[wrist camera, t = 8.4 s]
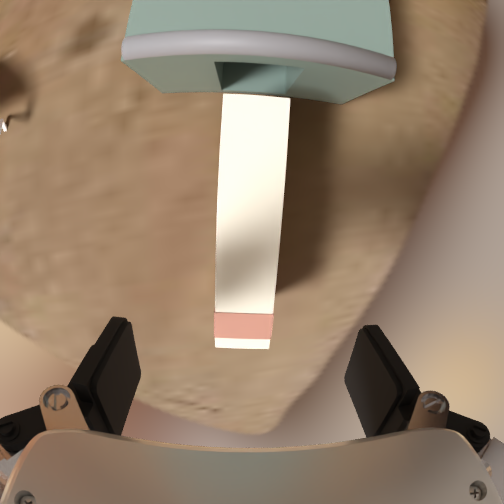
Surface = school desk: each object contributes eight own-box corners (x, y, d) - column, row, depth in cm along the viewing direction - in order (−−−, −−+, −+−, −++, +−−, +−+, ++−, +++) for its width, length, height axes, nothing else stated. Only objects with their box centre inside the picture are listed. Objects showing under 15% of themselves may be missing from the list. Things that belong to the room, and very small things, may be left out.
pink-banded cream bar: (226, 111, 16) (222, 93, 12) (277, 114, 17) (291, 98, 12) (219, 304, 20) (214, 347, 16) (263, 306, 21) (269, 349, 16)
